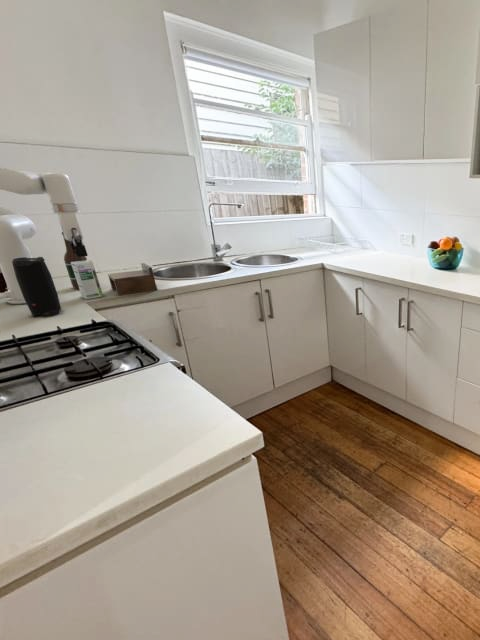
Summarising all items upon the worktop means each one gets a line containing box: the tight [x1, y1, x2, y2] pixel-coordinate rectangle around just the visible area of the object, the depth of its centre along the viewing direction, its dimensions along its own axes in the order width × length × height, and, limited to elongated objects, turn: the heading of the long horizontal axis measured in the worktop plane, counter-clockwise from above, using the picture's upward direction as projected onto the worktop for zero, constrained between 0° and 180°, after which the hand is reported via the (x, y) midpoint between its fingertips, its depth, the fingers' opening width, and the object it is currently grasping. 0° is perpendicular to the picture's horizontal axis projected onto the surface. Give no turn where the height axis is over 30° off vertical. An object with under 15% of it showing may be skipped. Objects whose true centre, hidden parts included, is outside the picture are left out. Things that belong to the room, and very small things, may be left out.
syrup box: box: [71, 259, 104, 300], centre depth 153 cm, size 6×6×14 cm
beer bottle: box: [61, 231, 88, 290], centre depth 164 cm, size 8×8×24 cm
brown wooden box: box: [107, 262, 158, 296], centre depth 165 cm, size 14×13×10 cm
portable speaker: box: [12, 256, 62, 318], centre depth 131 cm, size 9×9×20 cm
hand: (80, 254), depth 149 cm, fingers open, 9 cm apart
